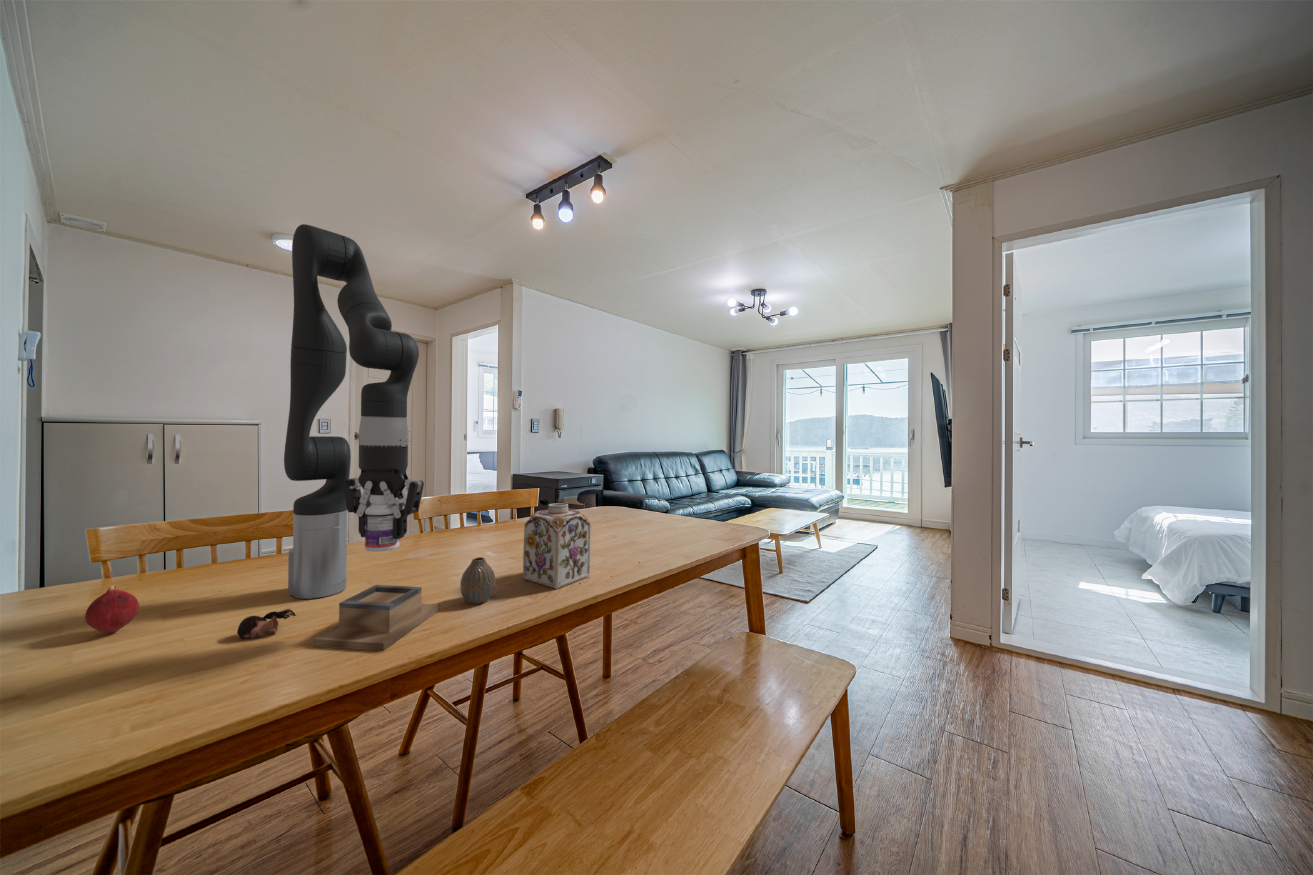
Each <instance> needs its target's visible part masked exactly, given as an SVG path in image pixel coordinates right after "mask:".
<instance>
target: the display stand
mask: <svg viewBox="0 0 1313 875" xmlns="http://www.w3.org/2000/svg"><path fill="white" fill-rule="evenodd" d="M338 605H339V606H338V618H339V619H338V625H336V626H334V627H332V628H331V629H328V630H326V631H325V632H323V633H322V634H320V635H318V636H316V637H315V638H313V647H324V648H335V649H336V648H339V649H349V650H351V649H352V650H366V651H367V650H369V651H380V652H382V651H386V650H387V649H389V647H391V646H392V645H393V644H395V643H396V642H398V641H399V640H400V639H403V637H405V636H406V635H408V634H409V633H410V632H411V631H413V630H414V629H416V628H417V627H419V626H420V625H421V624H423V623H424V622H425V621H427V620H429V619H430V618H431V617H433V616H434V615H435V614H437V613H438V612H439V611H440V604H434V603H422V586H408V585H407V586H406V585H391V584H389V585H387V584H374V585H373V586H371V587H369V588H367V589H366V588H365V589H364V590H363V591H360V592H359V593H356V594H355V595H353V596H351V597H348V598H346V599H345V600H342V601H341V602H339V603H338Z"/></svg>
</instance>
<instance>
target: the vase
mask: <svg viewBox="0 0 1313 875" xmlns="http://www.w3.org/2000/svg"><path fill="white" fill-rule="evenodd" d="M496 585H497V577H496V574H495V572H494V569H493V568H492V567H491V566H490V565H489V563H488V561H487V560H486V558H485V557H480V556H479V557H474V558H473V559H472V560H471V562H470V563H469V565H468V566H467V568H466V569H465V570H464V572H462V576H461V578H460V583H459V586H460V587H459V589H460V593H461V596H462V598H463V600H465V601H466V602H467V603H468V604H471V605H480V604H484V603H486V602H488V601H489V600H490V599H491V598H492V597H493V595H494V594H495V590H496Z"/></svg>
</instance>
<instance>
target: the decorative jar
mask: <svg viewBox="0 0 1313 875" xmlns="http://www.w3.org/2000/svg"><path fill="white" fill-rule="evenodd" d="M547 508H548V509H542V510H538V511H535V512H534V514H532V515H531V516H530V517H529V518H528V520H527V521H526V522H525V523H524V524H523V525H524V531H523V552H522V554H523V557H522V558H523V560H522V573H523V574H522V578H523V579H524V580H526V581H529V582H533V583H537V584H539V585H542V586H546V587H548V588H552V589H555V590H558V589H560V588H563V587H566V586H568V585H570V584H573V583H577V582H579V581H582V580H584V579H586V578H588V577H589V576H590V574H591V538H592V537H591V536H592V535H591V534H592V531H591V525H592V523H591V522H590V521H589V519H588V518H587V516H586V515H584V513H583V512H582V511H580V510H575V509H569V504H568V503H564V502H559V503H558V502H556V503H550V504H548V506H547Z"/></svg>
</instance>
